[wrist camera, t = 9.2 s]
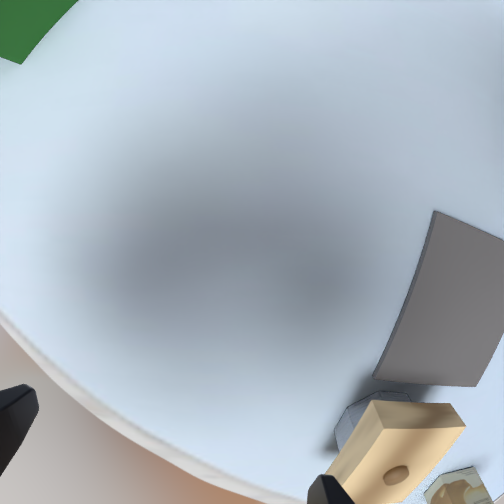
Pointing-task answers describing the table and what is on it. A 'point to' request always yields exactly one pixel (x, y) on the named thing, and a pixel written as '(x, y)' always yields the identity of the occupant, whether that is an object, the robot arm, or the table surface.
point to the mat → (449, 309)
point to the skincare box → (458, 489)
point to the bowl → (361, 414)
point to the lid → (394, 449)
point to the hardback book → (27, 24)
